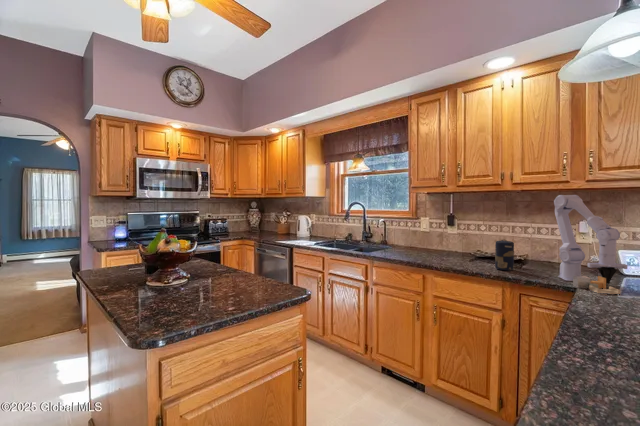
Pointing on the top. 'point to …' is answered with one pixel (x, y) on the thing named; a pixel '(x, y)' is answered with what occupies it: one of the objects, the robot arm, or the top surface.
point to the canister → (504, 255)
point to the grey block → (581, 281)
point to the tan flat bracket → (605, 290)
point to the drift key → (600, 282)
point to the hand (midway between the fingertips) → (606, 283)
